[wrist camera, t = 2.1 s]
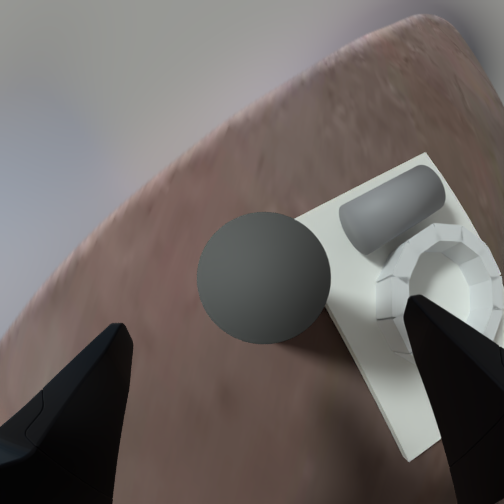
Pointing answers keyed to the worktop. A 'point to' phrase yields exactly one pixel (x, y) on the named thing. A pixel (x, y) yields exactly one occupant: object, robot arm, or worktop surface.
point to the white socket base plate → (403, 283)
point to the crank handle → (263, 278)
